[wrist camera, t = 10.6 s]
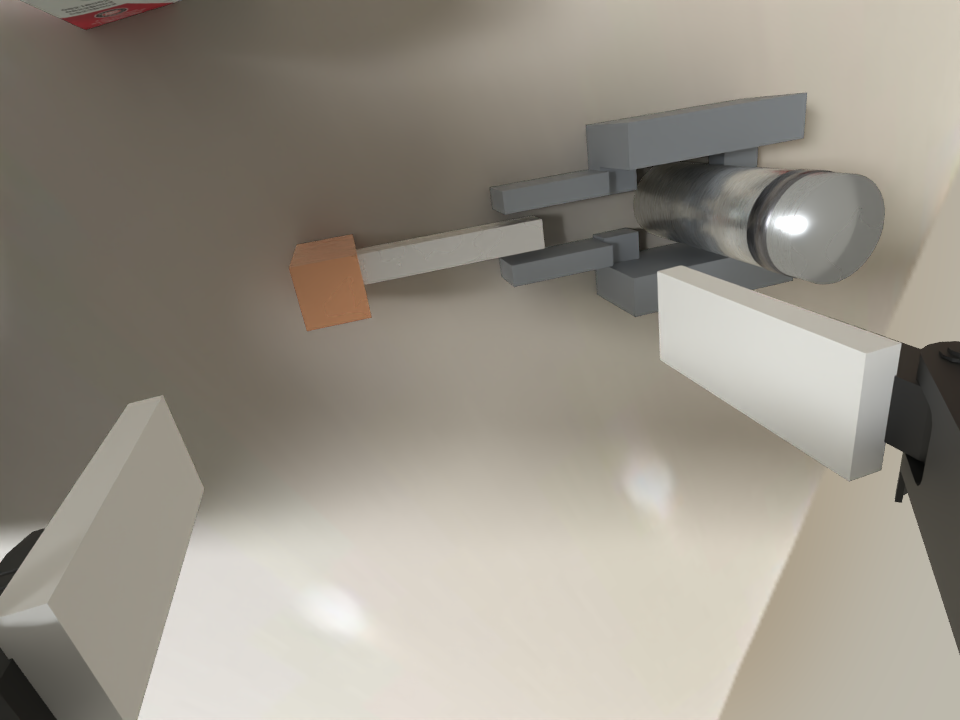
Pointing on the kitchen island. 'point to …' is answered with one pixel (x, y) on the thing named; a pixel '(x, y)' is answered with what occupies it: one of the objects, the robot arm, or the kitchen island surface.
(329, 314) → the pin
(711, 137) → the mount
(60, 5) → the ink box
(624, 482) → the kitchen island surface
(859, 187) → the grey cylinder
